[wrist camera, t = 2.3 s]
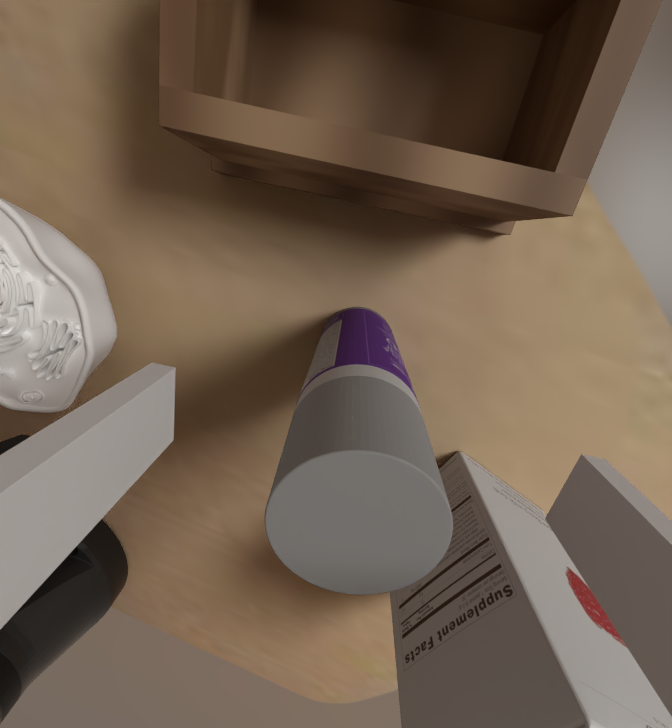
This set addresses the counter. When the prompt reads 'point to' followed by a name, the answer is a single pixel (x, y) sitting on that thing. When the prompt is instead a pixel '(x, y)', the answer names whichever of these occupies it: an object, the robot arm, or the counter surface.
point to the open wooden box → (404, 97)
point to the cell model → (48, 315)
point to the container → (358, 469)
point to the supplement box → (510, 627)
